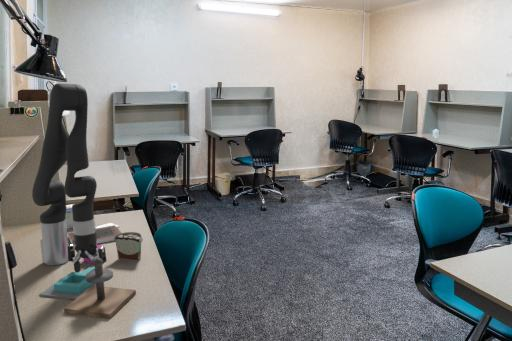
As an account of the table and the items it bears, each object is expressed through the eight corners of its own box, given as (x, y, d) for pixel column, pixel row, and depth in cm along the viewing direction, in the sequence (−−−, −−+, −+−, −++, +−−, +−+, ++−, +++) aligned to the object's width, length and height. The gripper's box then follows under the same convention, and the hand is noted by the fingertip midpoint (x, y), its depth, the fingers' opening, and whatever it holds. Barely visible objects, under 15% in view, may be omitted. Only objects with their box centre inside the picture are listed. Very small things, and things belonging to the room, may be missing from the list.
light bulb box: (84, 221, 224) (82, 201, 222) (88, 224, 219) (87, 204, 217) (63, 225, 218) (61, 205, 216) (67, 229, 213) (65, 208, 211)
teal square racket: (54, 290, 147) (53, 284, 147) (81, 272, 162) (80, 266, 161) (80, 293, 145) (79, 286, 145) (104, 274, 159) (104, 268, 159)
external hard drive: (87, 231, 211) (110, 225, 220) (96, 235, 206) (119, 228, 215) (87, 228, 211) (110, 222, 220) (96, 232, 205) (119, 225, 214)
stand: (64, 312, 134) (59, 266, 131) (93, 289, 149) (90, 247, 146) (110, 318, 131) (106, 271, 128) (135, 293, 146) (133, 251, 143)
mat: (39, 295, 145) (39, 294, 145) (69, 275, 160) (69, 274, 160) (78, 300, 142) (78, 298, 142) (105, 279, 157) (105, 277, 157)
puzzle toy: (95, 256, 178) (94, 243, 177) (104, 259, 176) (103, 246, 175) (83, 261, 174) (82, 248, 173) (92, 264, 171) (91, 250, 170)
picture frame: (73, 249, 187) (123, 239, 198) (73, 243, 187) (123, 234, 198) (68, 237, 201) (115, 229, 212) (67, 232, 201) (114, 224, 212)
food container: (149, 255, 179) (148, 233, 177) (142, 261, 173) (140, 238, 171) (123, 253, 182) (122, 230, 180) (115, 258, 176) (113, 235, 174)
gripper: (60, 233, 152) (64, 275, 156) (96, 235, 149) (99, 279, 153) (73, 226, 160) (77, 267, 163) (108, 228, 157) (111, 270, 160)
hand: (88, 272), depth 158 cm, fingers open, 8 cm apart
